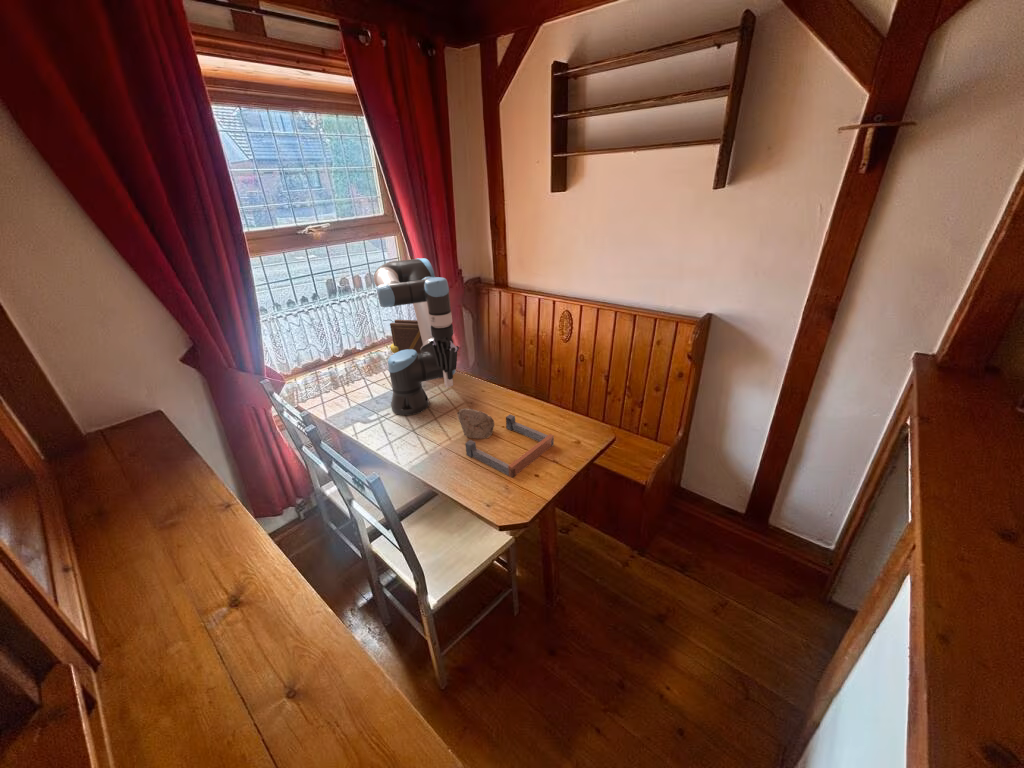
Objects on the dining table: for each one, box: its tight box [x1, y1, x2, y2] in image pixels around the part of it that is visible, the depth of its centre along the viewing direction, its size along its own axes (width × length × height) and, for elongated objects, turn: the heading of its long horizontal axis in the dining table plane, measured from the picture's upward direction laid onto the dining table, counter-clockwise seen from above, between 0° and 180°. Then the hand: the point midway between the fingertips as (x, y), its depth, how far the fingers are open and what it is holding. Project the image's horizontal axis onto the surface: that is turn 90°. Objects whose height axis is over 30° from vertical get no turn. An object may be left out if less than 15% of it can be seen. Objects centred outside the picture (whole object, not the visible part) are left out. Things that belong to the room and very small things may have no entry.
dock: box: [465, 414, 555, 479], centre depth 144 cm, size 20×23×5 cm
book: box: [389, 319, 423, 354], centre depth 199 cm, size 22×8×25 cm, turn 77°
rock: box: [456, 408, 495, 440], centre depth 153 cm, size 14×10×8 cm
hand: (449, 386), depth 155 cm, fingers closed
